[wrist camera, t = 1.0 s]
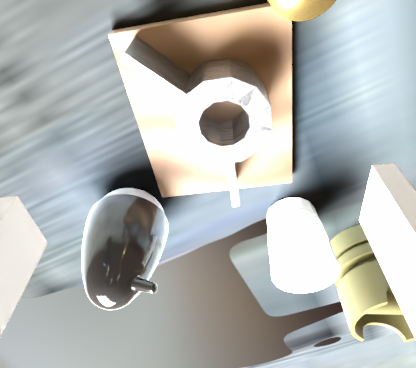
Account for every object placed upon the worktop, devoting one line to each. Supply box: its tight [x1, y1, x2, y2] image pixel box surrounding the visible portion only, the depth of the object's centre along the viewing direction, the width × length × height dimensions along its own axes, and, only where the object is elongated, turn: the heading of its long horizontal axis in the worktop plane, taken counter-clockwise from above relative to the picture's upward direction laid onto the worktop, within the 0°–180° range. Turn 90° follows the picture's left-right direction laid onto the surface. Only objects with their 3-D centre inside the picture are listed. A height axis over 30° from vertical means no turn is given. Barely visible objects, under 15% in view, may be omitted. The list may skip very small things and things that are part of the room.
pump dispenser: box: [81, 188, 169, 310], centre depth 39 cm, size 10×10×15 cm
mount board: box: [108, 3, 292, 198], centre depth 36 cm, size 20×16×2 cm
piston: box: [330, 224, 415, 342], centre depth 46 cm, size 11×12×11 cm
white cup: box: [266, 197, 340, 293], centre depth 42 cm, size 8×8×10 cm
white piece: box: [120, 36, 272, 207], centre depth 33 cm, size 18×12×5 cm, turn 9°
